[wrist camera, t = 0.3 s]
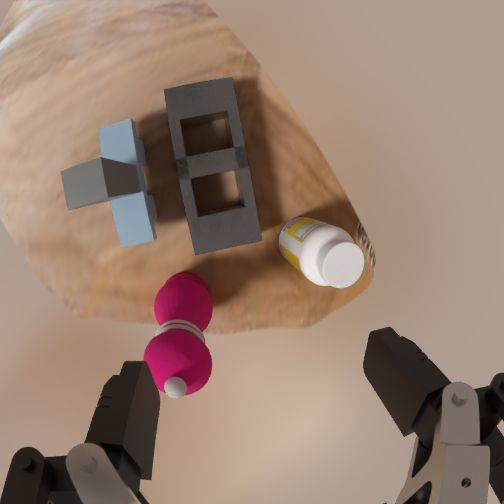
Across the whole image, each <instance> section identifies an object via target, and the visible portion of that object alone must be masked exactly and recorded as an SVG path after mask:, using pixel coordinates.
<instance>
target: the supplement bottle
mask: <svg viewBox="0 0 504 504" xmlns="http://www.w3.org/2000/svg"><path fill="white" fill-rule="evenodd" d="M279 248H280V251H281V253H282V255H283V256H284V258H285V259H286V260H287V261H288V262H290V263H291V264H292V265H293V266H294V267H295V268H296V269H298V270H299V271H300V272H301V273H302V274H303V275H304V276H305V277H306V278H308V279H309V280H310V281H311V282H313V283H315V284H317V285H321V286H330V285H331V286H333V287H336V288H345V287H348V286H350V285H352V284H353V283H355V282H356V281H357V279H358V278H359V277H360V275H361V273H362V271H363V268H364V255H363V253H362V251H361V249H360V248H359V247H358V246H357V245H356V244H354V241H353V239H352V238H351V236H350V235H349V234H348V233H347V232H346V231H345V230H343V229H341V228H339V227H337V226H334V225H330V224H327V223H325V222H322V221H318V220H315V219H312V218H308V217H298V218H294V219H292V220H291V221H289V222H288V223H287V224H286V225H285V226H284V227H283V229H282V230H281V233H280V236H279Z"/></svg>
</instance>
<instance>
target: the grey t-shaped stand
mask: <svg viewBox="0 0 504 504" xmlns="http://www.w3.org/2000/svg"><path fill="white" fill-rule="evenodd" d="M98 131H99V139H100V147H101V153H102V157H99V158H96V159H93V160H91V161H88V162H85V163H82V164H79V165H77V166H74V167H71V168H69V169H66V170H64V171H61V175H62V181H63V187H64V192H65V198H66V203H67V208H68V210H72V209H76V208H80V207H84V206H89V205H93V204H97V203H102V202H106V201H110V203H111V207H112V212H113V216H114V221H115V225H116V229H117V233H118V237H119V241H120V244H121V248H126V247H130V246H134V245H138V244H142V243H146V242H150V241H154V240H155V239H156V238H157V235H156V231H155V227H154V223H153V220H154V219H156V218H157V217H158V216H157V211H156V207H155V202H154V198H153V194H151V195H147V190H146V185H145V180H144V175H143V170H142V165H145V164H147V161H146V156H145V150H144V144H143V141H141V140H140V139H138V138H137V134H136V127H135V122H134V121H133V120H132V119H131V118H130V119H127V120H123V121H120V122H117V123H114V124H111V125H108V126H105V127H102V128H99V129H98Z"/></svg>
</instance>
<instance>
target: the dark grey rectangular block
mask: <svg viewBox="0 0 504 504" xmlns="http://www.w3.org/2000/svg"><path fill="white" fill-rule="evenodd" d="M164 94H165V101H166V107H167V114H168V120H169V127H170V133H171V139H172V145H173V150H174V156H175V161H176V167H177V172H178V177H179V182H180V187H181V192H182V197H183V202H184V207H185V212H186V216H187V221H188V225H189V230H190V234H191V239H192V243H193V247H194V252H195V255H199V254H204V253H208V252H213V251H217V250H222V249H226V248H231V247H236V246H240V245H245V244H249V243H254V242H259V241H262V237H261V231H260V225H259V219H258V214H257V208H256V203H255V197H254V191H253V186H252V180H251V175H250V169H249V164H248V158H247V153H246V148H245V142H244V137H243V132H242V126H241V121H240V116H239V110H238V105H237V100H236V95H235V90H234V84H233V79H232V77H231V78H223V79H216V80H210V81H204V82H198V83H193V84H187V85H182V86H178V87H173V88H169V89H164ZM219 119H225V123H226V128H227V134H228V139H229V144H230V148H229V149H223V150H218V151H213V152H207V153H202V154H198V155H193V156H188V157H187V152H186V147H185V141H184V135H183V129H182V127H183V126H187V125H192V124H197V123H202V122H208V121H213V120H219ZM229 171H235V177H236V182H237V188H238V193H239V198H240V204H241V205H237V206H232V207H227V208H222V209H217V210H213V211H208V212H203V213H199V214H198V209H197V204H196V199H195V194H194V189H193V184H192V179H194V178H199V177H203V176H208V175H213V174H218V173H223V172H229Z"/></svg>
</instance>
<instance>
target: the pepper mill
mask: <svg viewBox="0 0 504 504" xmlns="http://www.w3.org/2000/svg"><path fill="white" fill-rule="evenodd" d="M212 310H213V305H212V300H211V297H210V295H209V293H208V292H207V288H206V286H205V284H204V282H203V281H202V280H201V279H200V278H198V277H197V276H195V275H193V274H189V273H179V274H176V275H174V276H172V277H170V278H169V279H168V280H167V281H166V283H165V285H164V286H163V287H162V288H161V289H160V290H159V292H158V294H157V296H156V299H155V304H154V311H155V316H156V319H157V321H158V323H159V325H160V327H159V328H158V329H157V331H156V333H155V336H154V338H153V339H152V340H151V341H150V343H149V344H148V345H147V347H146V349H145V352H144V361H146V362H147V363H148V365H149V368H150V371H151V373H152V376H153V378H154V381H155V384H156V386H157V388H158V389H159V390H161V391H162V392H164V393H166V394H167V395H168V396H170V397H171V398H181V397H183V396H184V395H189V394H192V393H194V392H197V391H198V390H200V389H201V388H202V387H203V386H204V385H205V384H206V383H207V381H208V379H209V377H210V375H211V370H212V358H211V355H210V352H209V349H208V348H207V346H206V345H205V338H204V335H203V333H202V332H203V331H204V330H205V329H206V327H207V326H208V324H209V322H210V320H211V318H212Z"/></svg>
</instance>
